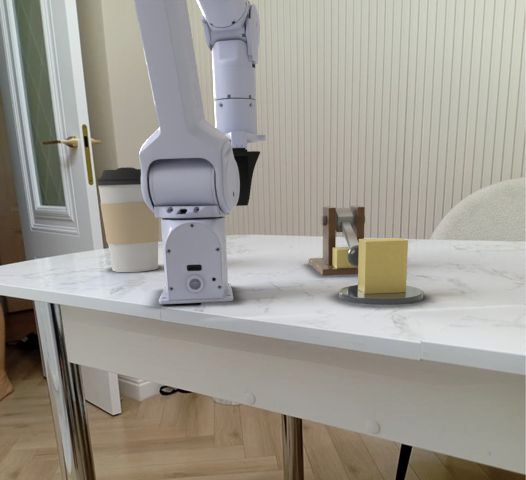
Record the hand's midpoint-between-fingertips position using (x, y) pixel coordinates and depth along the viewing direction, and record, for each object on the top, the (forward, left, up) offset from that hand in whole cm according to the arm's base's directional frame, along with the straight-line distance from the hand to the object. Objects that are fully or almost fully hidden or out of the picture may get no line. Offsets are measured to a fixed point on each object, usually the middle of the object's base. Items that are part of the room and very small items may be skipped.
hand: (238, 204), depth 84 cm
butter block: (-7, -14, -8) cm, 18 cm away
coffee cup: (+6, +16, -10) cm, 20 cm away
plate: (-24, -14, -9) cm, 29 cm away
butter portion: (-24, -14, -9) cm, 29 cm away
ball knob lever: (-7, -15, -6) cm, 17 cm away
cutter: (-3, -15, -9) cm, 17 cm away
